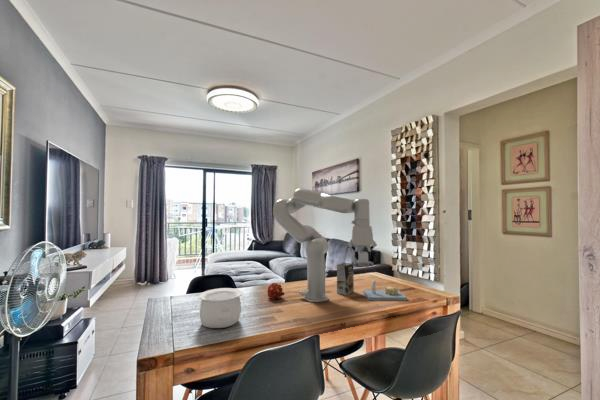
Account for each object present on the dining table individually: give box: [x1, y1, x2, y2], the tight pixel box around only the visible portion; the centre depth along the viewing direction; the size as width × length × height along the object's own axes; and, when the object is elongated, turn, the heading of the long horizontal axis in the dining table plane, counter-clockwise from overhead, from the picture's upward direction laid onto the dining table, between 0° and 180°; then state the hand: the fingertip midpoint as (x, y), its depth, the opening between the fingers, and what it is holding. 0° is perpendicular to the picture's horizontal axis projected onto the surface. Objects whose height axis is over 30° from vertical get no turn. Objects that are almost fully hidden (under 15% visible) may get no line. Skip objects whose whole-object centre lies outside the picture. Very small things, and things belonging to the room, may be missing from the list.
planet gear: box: [351, 251, 375, 268], centre depth 142 cm, size 11×11×6 cm
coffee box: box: [336, 262, 355, 296], centre depth 161 cm, size 9×6×16 cm
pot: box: [198, 287, 243, 329], centre depth 118 cm, size 22×17×12 cm
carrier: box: [362, 279, 408, 301], centre depth 154 cm, size 20×14×8 cm
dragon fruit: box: [267, 282, 285, 301], centre depth 151 cm, size 8×8×12 cm
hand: (362, 259), depth 142 cm, fingers closed on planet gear, 4 cm apart
